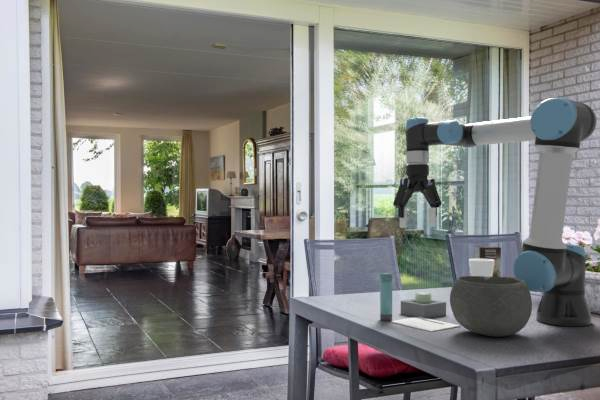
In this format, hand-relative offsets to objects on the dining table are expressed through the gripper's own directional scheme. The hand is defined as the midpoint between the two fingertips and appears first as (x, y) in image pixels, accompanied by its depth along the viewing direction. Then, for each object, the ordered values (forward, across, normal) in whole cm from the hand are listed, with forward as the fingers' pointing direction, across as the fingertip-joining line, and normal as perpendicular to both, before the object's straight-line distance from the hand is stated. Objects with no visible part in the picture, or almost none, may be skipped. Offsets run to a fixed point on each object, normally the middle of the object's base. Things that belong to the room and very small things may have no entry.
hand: (418, 227), depth 206 cm
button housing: (+27, +8, +10) cm, 30 cm away
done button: (+26, +8, +10) cm, 28 cm away
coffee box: (+27, -63, -22) cm, 72 cm away
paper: (+27, +18, +21) cm, 39 cm away
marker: (+27, +24, +10) cm, 37 cm away
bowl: (+28, +13, +40) cm, 50 cm away
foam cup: (+27, -41, -8) cm, 50 cm away
